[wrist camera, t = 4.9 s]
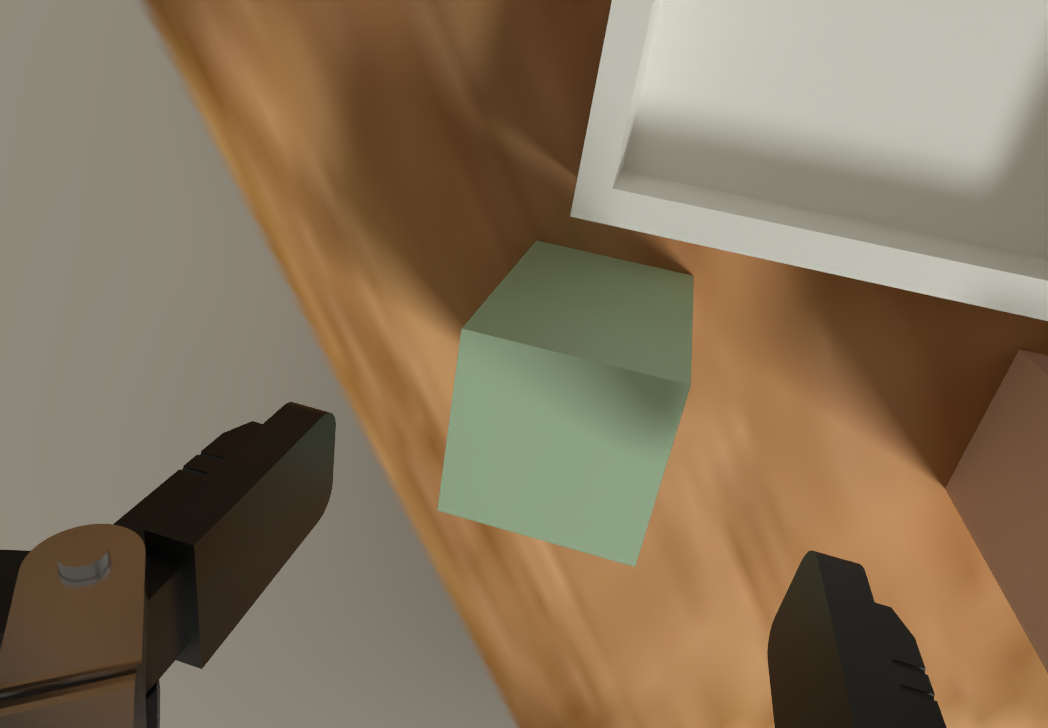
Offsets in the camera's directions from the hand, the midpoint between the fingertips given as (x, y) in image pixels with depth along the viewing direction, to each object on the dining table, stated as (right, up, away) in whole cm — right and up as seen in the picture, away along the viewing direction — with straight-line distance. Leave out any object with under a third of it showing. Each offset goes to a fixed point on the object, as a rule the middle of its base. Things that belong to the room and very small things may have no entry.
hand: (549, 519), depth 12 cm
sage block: (+2, +4, +9) cm, 10 cm away
